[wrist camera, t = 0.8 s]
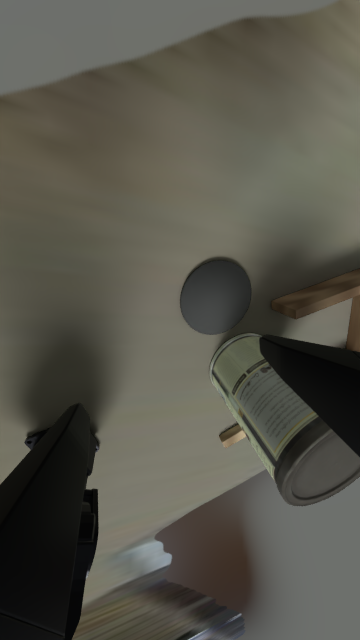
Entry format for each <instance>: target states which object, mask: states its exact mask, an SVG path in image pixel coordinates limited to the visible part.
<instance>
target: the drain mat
mask: <svg viewBox="0 0 360 640" xmlns="http://www.w3.org/2000/svg"><path fill="white" fill-rule="evenodd" d="M250 300H251V285H250V281H249V279H248V277H247V275H246V273H245V272H244V271H243V270H242V269H241V268H240V267H239V266H238V265H236V264H234V263H231V262H228V261H212V262H208V263H206V264H204V265H202V266H200V267H199V268H197V269H196V270H195V271H194V272H193V273H192V274H191V275H190V276H189V277H188V279H187V280H186V282H185V284H184V286H183V289H182V292H181V297H180V307H181V312H182V315H183V317H184V319H185V320H186V322H187V323H188V325H189V326H190V327H191V328H193V329H194V330H196V331H198V332H200V333H203V334H209V335H213V334H220V333H223V332H225V331H228V330H229V329H231V328H232V327H234V326H235V325H236V324H237V323H238V322H239V321H240V320H241V319H242V318H243V316H244V315H245V313H246V311H247V309H248V307H249V304H250Z"/></svg>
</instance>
